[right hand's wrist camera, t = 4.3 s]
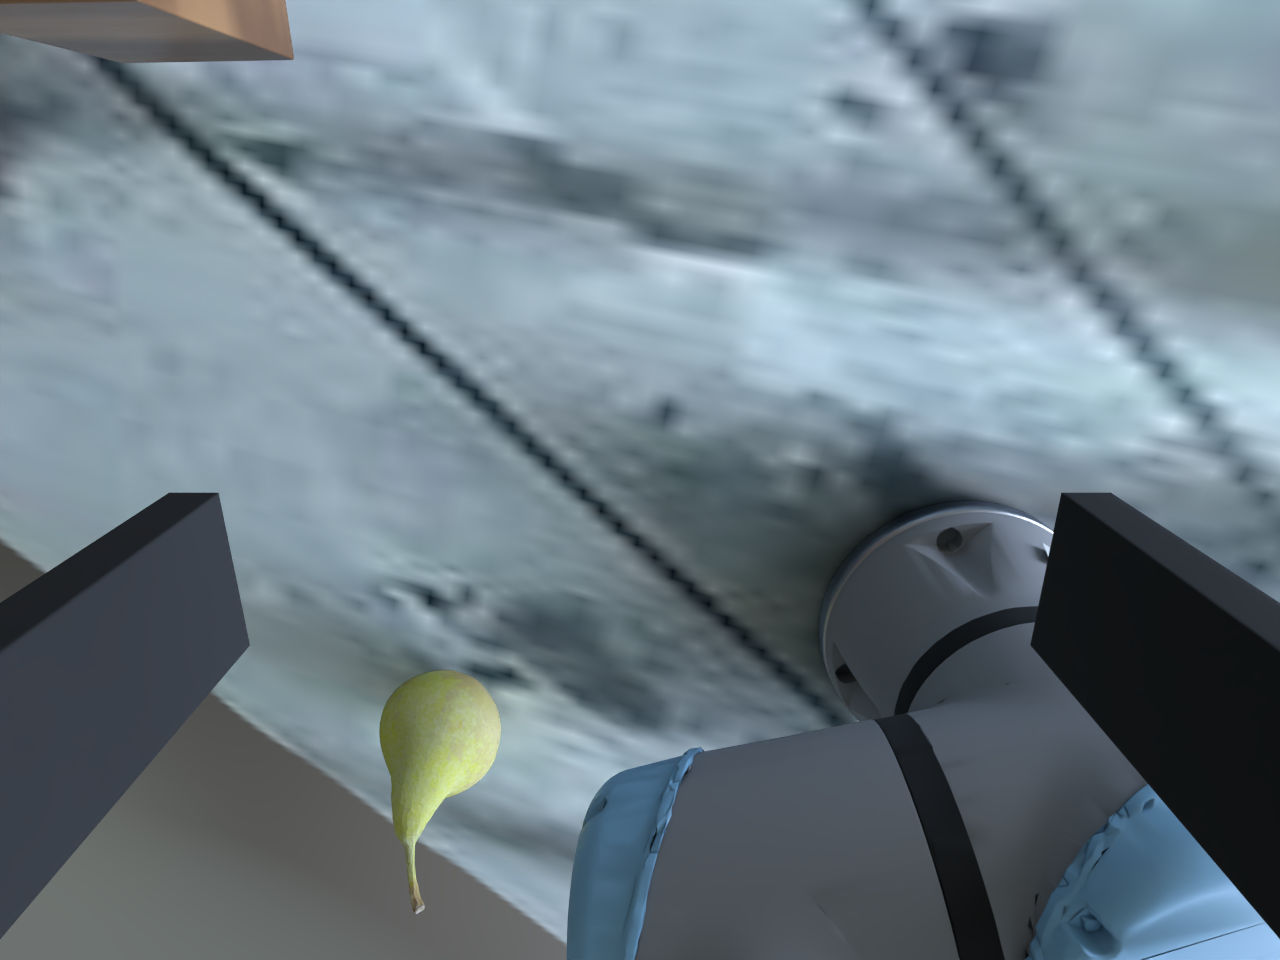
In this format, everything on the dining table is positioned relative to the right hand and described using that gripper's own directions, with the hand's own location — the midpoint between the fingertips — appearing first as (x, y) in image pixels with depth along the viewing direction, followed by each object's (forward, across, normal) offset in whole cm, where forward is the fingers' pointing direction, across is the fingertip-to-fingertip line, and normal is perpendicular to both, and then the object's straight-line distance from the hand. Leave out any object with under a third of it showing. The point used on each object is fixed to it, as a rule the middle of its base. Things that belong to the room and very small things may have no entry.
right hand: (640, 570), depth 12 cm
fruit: (+29, +11, +24) cm, 39 cm away
